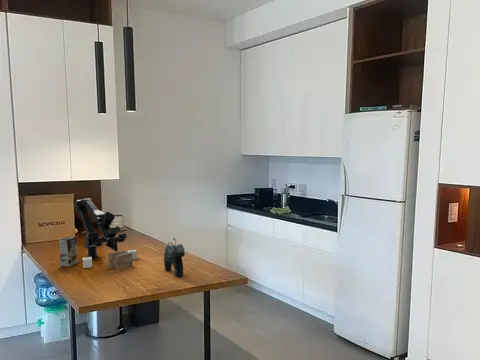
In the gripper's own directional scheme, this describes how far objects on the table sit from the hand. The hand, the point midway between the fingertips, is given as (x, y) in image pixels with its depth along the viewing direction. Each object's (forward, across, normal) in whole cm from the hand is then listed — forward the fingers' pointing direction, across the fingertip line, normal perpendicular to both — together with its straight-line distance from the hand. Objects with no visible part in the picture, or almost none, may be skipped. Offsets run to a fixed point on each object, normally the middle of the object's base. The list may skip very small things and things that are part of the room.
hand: (116, 250), depth 263 cm
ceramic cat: (+35, +10, -23) cm, 43 cm away
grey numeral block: (+2, +13, +10) cm, 16 cm away
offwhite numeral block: (-1, -14, +13) cm, 19 cm away
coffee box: (-11, -19, +22) cm, 31 cm away
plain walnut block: (+8, 0, +3) cm, 9 cm away
